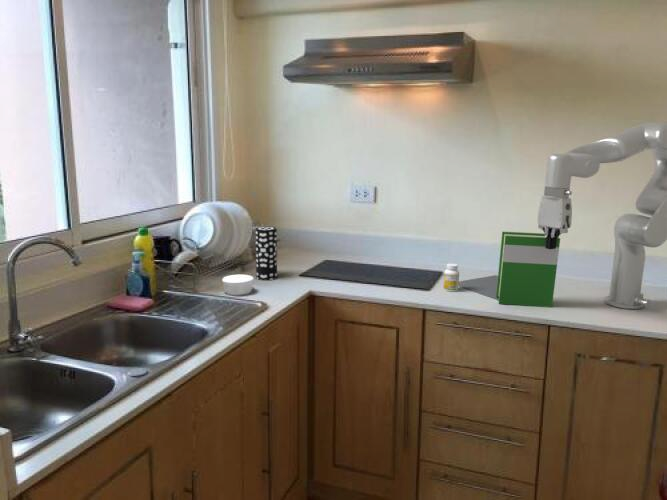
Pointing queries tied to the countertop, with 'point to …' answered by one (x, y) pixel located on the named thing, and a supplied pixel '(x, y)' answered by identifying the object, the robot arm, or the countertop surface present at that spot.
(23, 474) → the countertop surface
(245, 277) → the ramekin
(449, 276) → the supplement bottle
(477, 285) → the mat
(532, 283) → the hardback book
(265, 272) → the spotted tube
